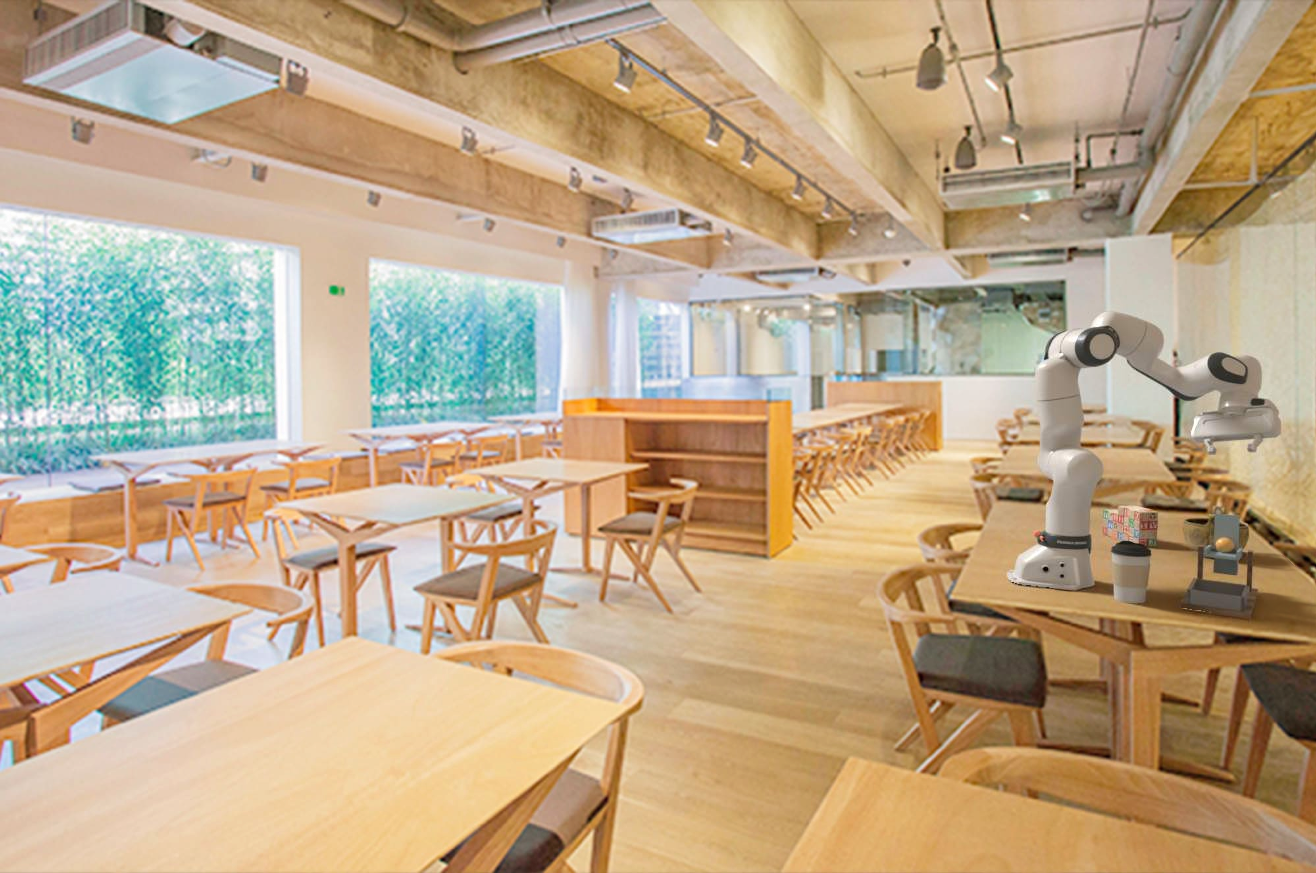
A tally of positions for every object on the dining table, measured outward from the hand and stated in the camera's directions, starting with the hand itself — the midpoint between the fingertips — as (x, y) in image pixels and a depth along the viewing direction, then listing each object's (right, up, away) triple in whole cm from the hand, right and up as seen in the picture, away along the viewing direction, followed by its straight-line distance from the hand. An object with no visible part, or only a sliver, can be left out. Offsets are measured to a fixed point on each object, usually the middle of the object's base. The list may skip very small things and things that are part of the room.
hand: (1231, 452), depth 208 cm
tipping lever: (-7, -32, -7) cm, 34 cm away
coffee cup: (-33, -39, -8) cm, 51 cm away
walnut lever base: (-11, -38, -11) cm, 41 cm away
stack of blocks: (+9, -32, +59) cm, 68 cm away
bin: (-15, -37, -16) cm, 43 cm away
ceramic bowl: (+21, -34, +35) cm, 54 cm away
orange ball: (-6, -24, -6) cm, 26 cm away
